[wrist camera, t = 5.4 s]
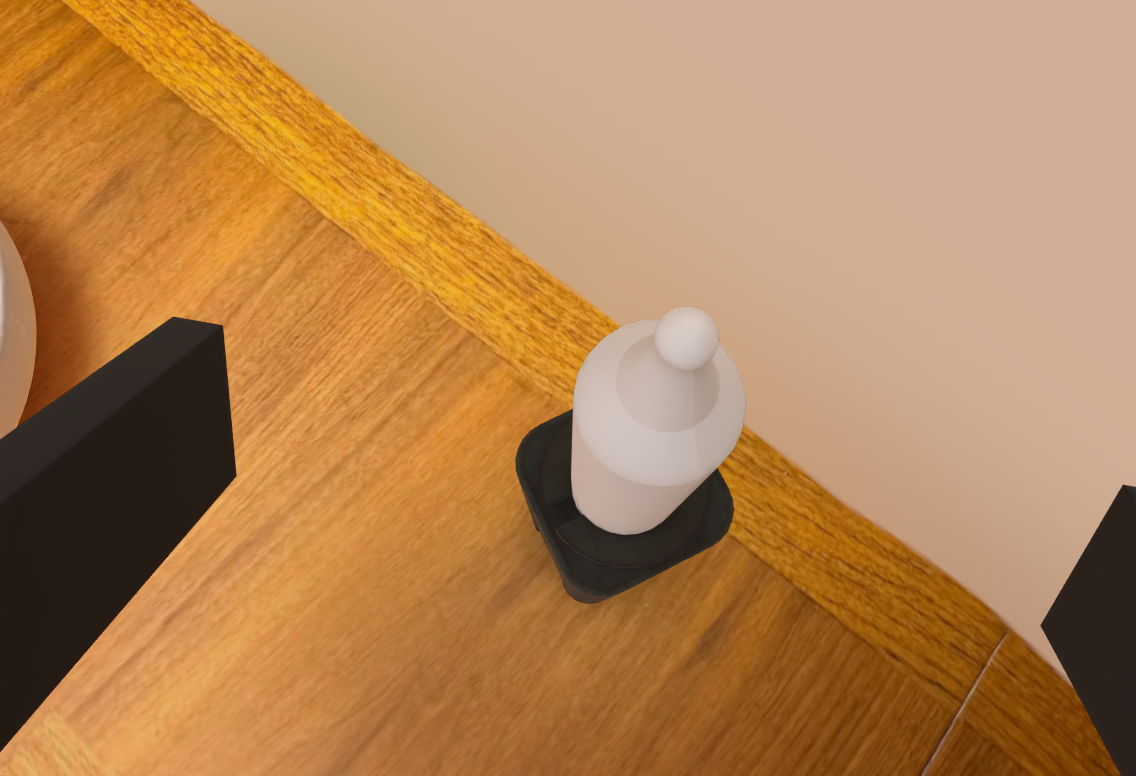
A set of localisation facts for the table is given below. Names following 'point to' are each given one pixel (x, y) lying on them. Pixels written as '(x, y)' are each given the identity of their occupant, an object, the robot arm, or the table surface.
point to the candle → (637, 456)
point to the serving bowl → (14, 334)
